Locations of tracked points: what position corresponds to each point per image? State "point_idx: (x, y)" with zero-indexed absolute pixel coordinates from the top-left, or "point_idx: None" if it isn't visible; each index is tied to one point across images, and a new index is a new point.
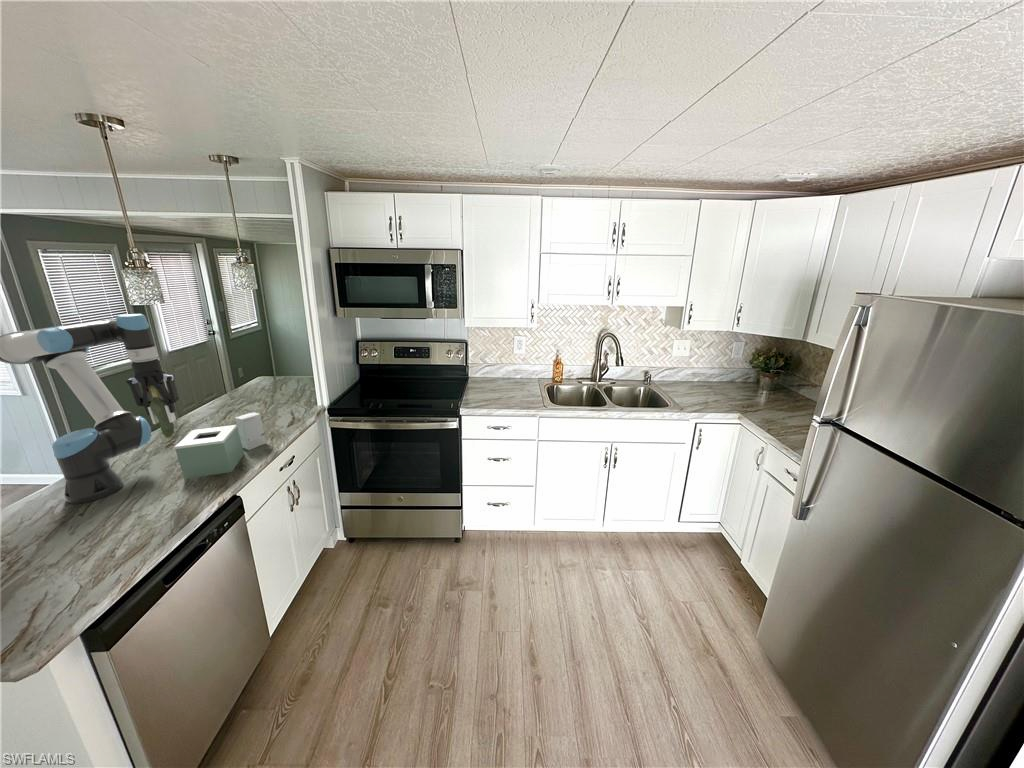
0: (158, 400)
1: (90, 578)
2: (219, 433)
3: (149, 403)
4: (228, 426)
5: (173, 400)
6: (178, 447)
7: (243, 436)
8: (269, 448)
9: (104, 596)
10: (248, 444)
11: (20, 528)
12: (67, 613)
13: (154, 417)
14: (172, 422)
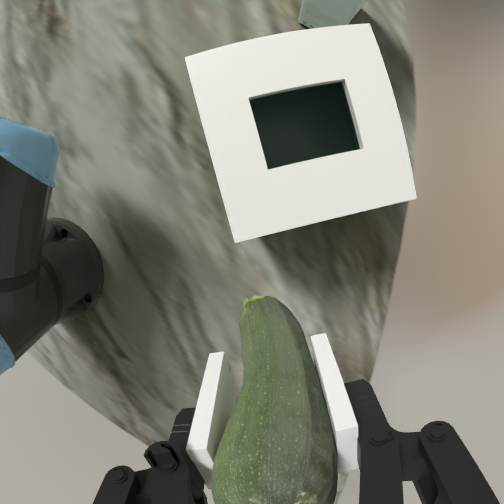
0: None
1: None
2: (356, 111)
3: (190, 485)
4: (344, 34)
5: (430, 479)
6: (249, 237)
7: (333, 15)
8: (392, 44)
9: (344, 486)
10: None
11: (64, 375)
12: None
13: (230, 414)
14: (306, 342)
